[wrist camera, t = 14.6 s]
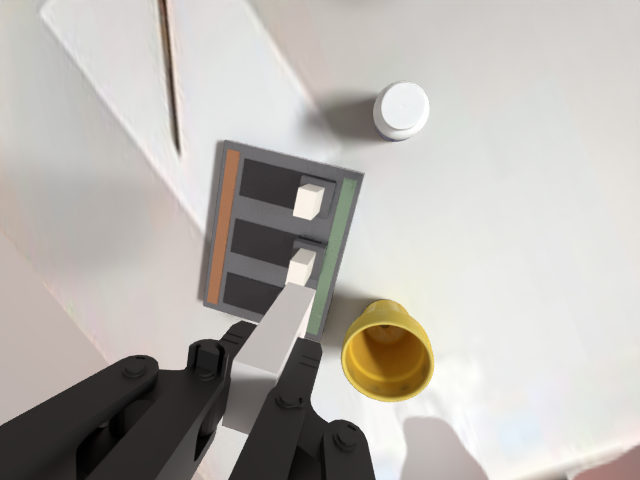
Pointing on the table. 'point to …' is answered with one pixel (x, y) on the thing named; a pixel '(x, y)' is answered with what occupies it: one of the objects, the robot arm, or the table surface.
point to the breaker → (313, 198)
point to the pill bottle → (400, 111)
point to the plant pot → (387, 353)
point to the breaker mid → (305, 261)
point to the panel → (273, 231)
